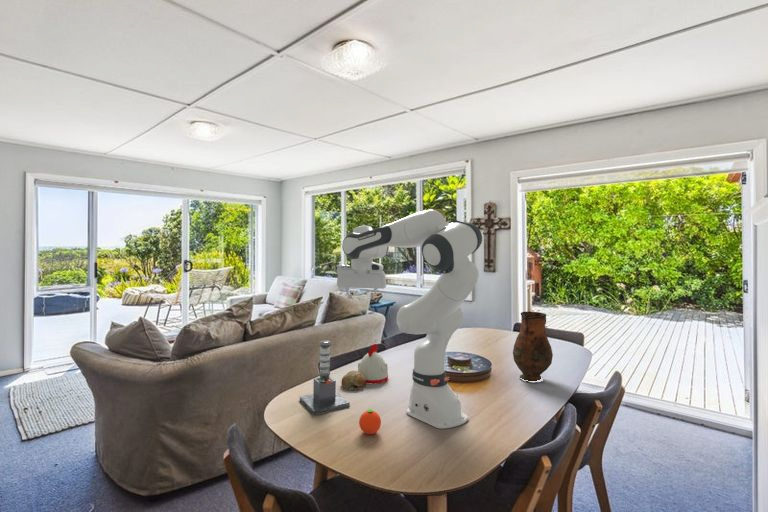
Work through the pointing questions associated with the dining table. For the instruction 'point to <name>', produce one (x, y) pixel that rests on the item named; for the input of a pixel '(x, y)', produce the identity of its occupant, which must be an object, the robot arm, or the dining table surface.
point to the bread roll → (353, 380)
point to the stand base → (324, 397)
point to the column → (324, 360)
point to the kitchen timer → (373, 367)
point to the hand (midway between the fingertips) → (361, 298)
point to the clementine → (370, 422)
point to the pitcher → (532, 346)
